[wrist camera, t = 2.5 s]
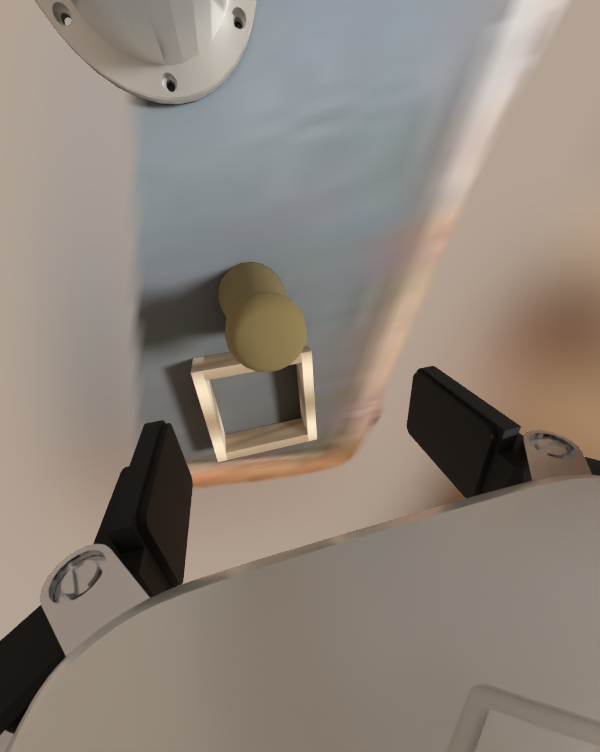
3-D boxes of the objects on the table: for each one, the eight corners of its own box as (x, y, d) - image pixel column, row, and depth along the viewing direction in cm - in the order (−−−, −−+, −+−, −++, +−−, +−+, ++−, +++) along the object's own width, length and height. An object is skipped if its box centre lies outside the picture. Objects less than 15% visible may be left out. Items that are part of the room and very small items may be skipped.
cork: (210, 318, 27) (206, 375, 17) (227, 251, 24) (234, 275, 15) (272, 335, 29) (298, 394, 20) (293, 275, 27) (334, 310, 17)
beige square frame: (193, 358, 28) (190, 372, 25) (303, 339, 30) (311, 351, 27) (218, 443, 34) (218, 462, 31) (309, 422, 35) (316, 439, 33)
